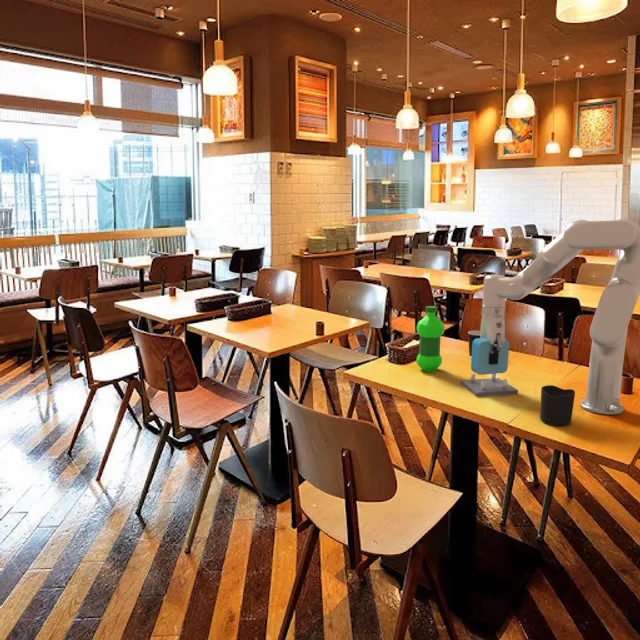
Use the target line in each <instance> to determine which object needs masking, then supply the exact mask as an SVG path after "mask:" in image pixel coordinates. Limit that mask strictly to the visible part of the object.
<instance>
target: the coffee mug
mask: <svg viewBox="0 0 640 640" xmlns="http://www.w3.org/2000/svg"><path fill="white" fill-rule="evenodd" d="M467 336H468V337H467V338H468V339H467V340H468V355H470V356H472V343H473V341H474V340H475V339H477V338H480V330H470V331H468V332H467ZM470 356H469V357H470Z"/></svg>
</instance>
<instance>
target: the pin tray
mask: <svg viewBox="0 0 640 640" xmlns="http://www.w3.org/2000/svg"><path fill="white" fill-rule="evenodd" d="M459 381H460V382H459V383H460V386H462V387H463V388H465V389H466V390H467V391H468V392H470V393H471V394H472V395H474V396H475V397H476V398H478V396H482V397H495V396H512V395H513V394H515V395H518V394H519V390H518V389H517V388H515V387H514V386H513V385H511V384H510V383H508V379H506V378H503V379H502V378H500V377H497V374H491V377H489V378H476V373H475V372H471V373H470V379H460V380H459Z"/></svg>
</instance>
